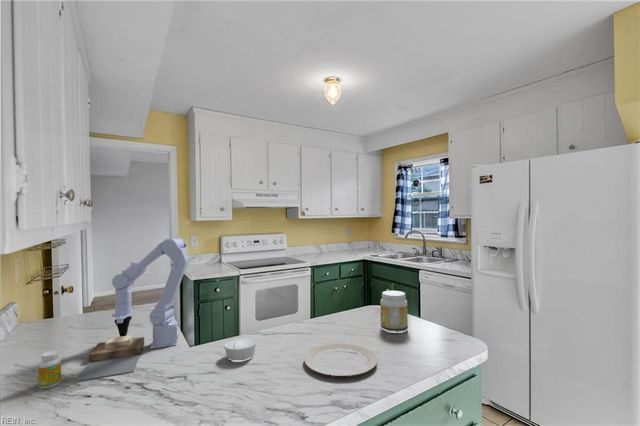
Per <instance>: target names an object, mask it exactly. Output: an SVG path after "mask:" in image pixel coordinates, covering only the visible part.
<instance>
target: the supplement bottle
mask: <svg viewBox="0 0 640 426" xmlns="http://www.w3.org/2000/svg"><path fill="white" fill-rule="evenodd" d="M37 368H38V373H37V376H38V379H37V381H38V382H37V383H38V384H37V387H38V389H48V388H49V389H51V388H53V387H56V386H57V385H60V383H61V381H62V380H61V379H62V358H60V357H59V351H58V350H50V351H47V352H44V353H42V354H41V361H40V362H39V363H38V367H37Z"/></svg>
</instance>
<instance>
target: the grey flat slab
mask: <svg viewBox="0 0 640 426" xmlns="http://www.w3.org/2000/svg"><path fill="white" fill-rule="evenodd" d="M140 356H141V354H140V355H135V356H129V357H122V358H115V359H109V360H102V361H96V362H89V361H88V363H87V364H86V366H85V367H84V368H83V370H81V372H80V374H79V376H77V378H76V380H75V383H77V382H84V381H88V380H95V379H96V380H97V379H101V378H106V377H114V376H119V375H125V373H126V374H131V373H130V372H132V373H134V372H135V368H136V366H137V364H138V361H139V359H140Z"/></svg>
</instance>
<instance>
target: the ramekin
mask: <svg viewBox="0 0 640 426" xmlns="http://www.w3.org/2000/svg"><path fill="white" fill-rule="evenodd" d="M256 346H257V342H256V340H255V339H253V338H249V337H248V338H247V337H241V338H235V339H232V340H230V341H227V342H226V343H225V344H224V350H225V354H226V359H227V358H229V359H231V360H245V359H248V358H250V357H252V356H253V357H254V355H255V350H256ZM253 357H252V358H253Z"/></svg>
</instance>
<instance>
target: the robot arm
mask: <svg viewBox="0 0 640 426" xmlns="http://www.w3.org/2000/svg"><path fill="white" fill-rule="evenodd" d="M163 255H166V256H167V257H168V258H169V259H170V260H171V261H172V263H173V264H172V266H171V269H170V273H169V275H168V277H167V280H166V283H165V286H164V288H163V291H162V294H161V297H160V299H159V300H158V301H157V303H156V305H155V306H154V309H153V310H151V311H150V313H149V316H148V319H149V322H151V324H152V341H151V345H150V349H158V348H159V349H160V348H165V347H172V346H173V347H174V346H176V345H177V344H178V339H179V334H178V321H177V320H173V316H174V315H175V306H176V302H175V300H176V296H177V293H178V291H179V289H180V286H181V282H182V280H183V277H184V275H185V272H186V269H187V266H188V264H189V255H188V244H187V242H186V241H185V240H184V239H183V238H182V237H174V238H167V239H164V240H163V241H162V242H160V243H158V244H157V245H156V247H155V248H153V249H152V250H151V251H150V252H149V253H148V254H147V255H145V257H144V258H142V259H141V260H136V261H131V262H130V266H128V267H127V268H126V269H123V270H122V271H121V274H116V275H114V277H113V278H112V280H111V283H112V284H111V285H112V286H113V288H115V291H114V292H115V294H114V295H115V297H114V300H115V303H114V304H115V305H114V311H115V312H114V313H112V314H111V317H112V318H113V317H114V318H115V319H114V324H115V325H116V328H117V330H118V335H119V337H122V336H128V330H129V325H130V322H131V320H132V319H133V316H132V315H133V311H132V289H133V287H132V286H133V285H134V284H135V281H136V280H137V279H138V278H140V277H141V276H142V275H144V273H146V271H147V269H148V268H147V267H148V266H150V265H151V264H152V263H153V262H155V261H156V260H158V259H159V258H160V257H162V256H163Z"/></svg>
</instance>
